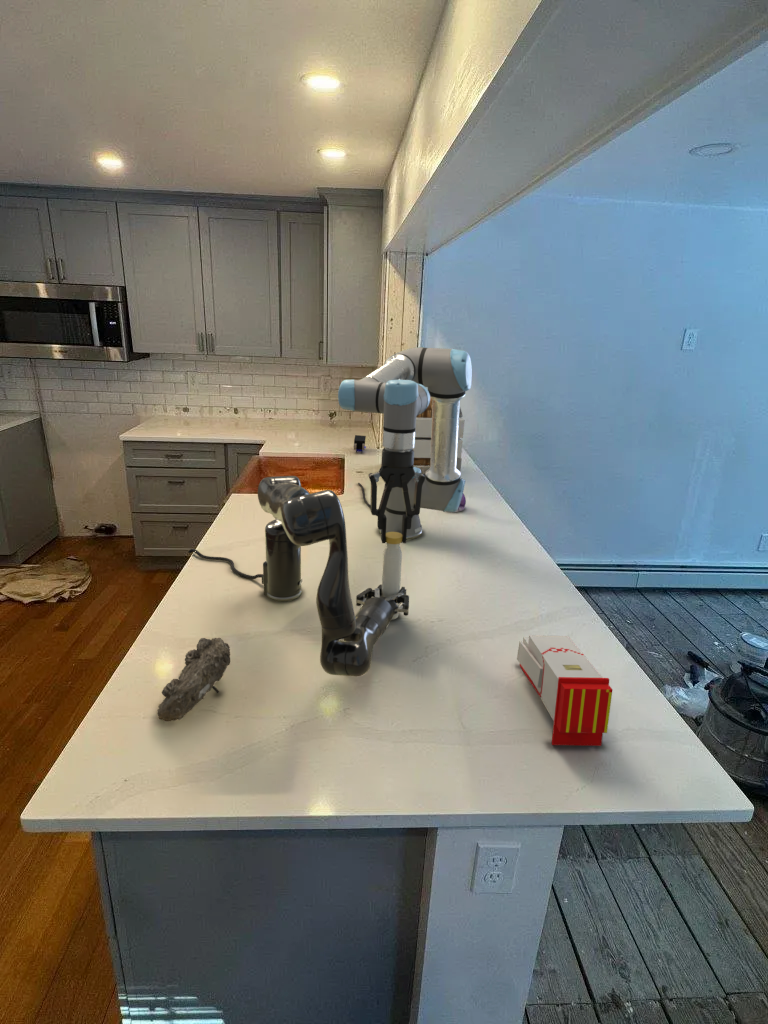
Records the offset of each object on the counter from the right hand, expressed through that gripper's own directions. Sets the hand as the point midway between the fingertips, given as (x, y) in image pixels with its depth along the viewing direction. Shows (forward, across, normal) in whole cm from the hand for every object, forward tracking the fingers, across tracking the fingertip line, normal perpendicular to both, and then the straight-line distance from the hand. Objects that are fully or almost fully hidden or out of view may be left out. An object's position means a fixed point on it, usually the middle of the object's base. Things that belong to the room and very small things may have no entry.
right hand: (393, 540), depth 140 cm
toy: (+21, -30, +36) cm, 51 cm away
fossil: (+21, +43, +28) cm, 55 cm away
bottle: (+21, 0, 0) cm, 21 cm away
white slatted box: (+21, -33, -133) cm, 138 cm away
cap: (-1, 0, 0) cm, 1 cm away
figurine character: (+21, -8, -176) cm, 178 cm away
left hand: (+14, -1, -2) cm, 15 cm away
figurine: (+21, -38, -81) cm, 92 cm away
